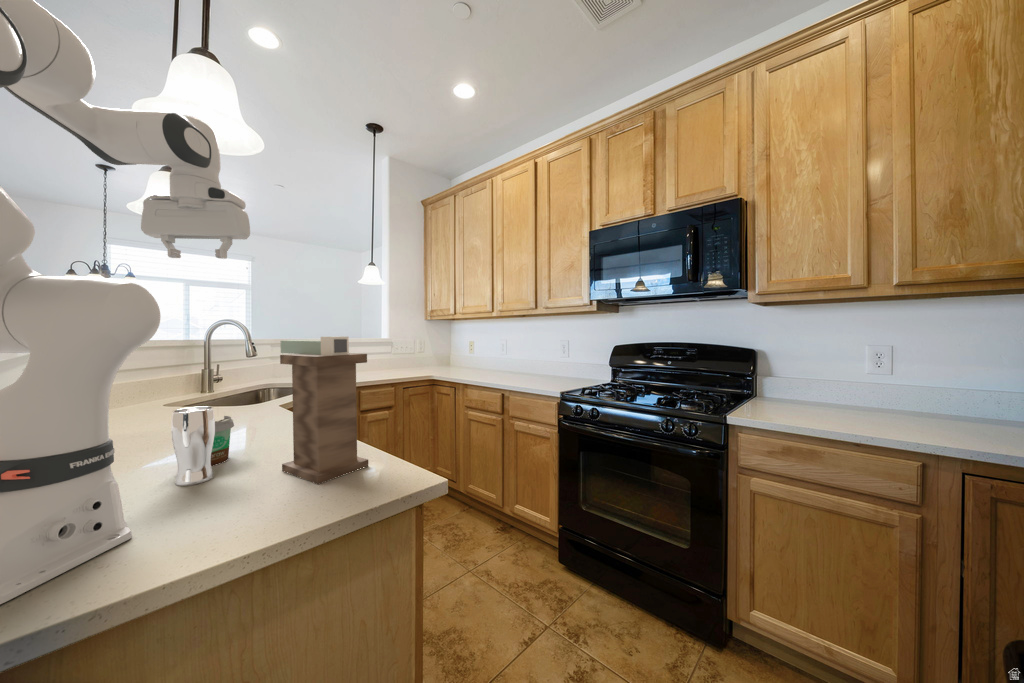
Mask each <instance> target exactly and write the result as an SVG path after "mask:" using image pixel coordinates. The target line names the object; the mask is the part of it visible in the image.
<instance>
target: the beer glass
mask: <svg viewBox="0 0 1024 683" xmlns="http://www.w3.org/2000/svg"><path fill="white" fill-rule="evenodd" d="M171 413H172V415H171V416H172V417H171V428H170V429H171V441H172V446H173V450H174V454H175V457H176V462H177V473H176V478H175V485H176V486H178V487H179V486H180V487H185V486H187V487H188V486H194V485H200V484H202V483H206V482H208V481H210V480H212V479H213V478H214V471H213V468H212V467H213V466H211V453H212V447H213V442H214V436H215V420H216V419H215V412H214V407H213V406H209V405H208V406H207V405H205V406H204V405H203V406H190V407H183V408H177V409H174V410H173V411H171Z"/></svg>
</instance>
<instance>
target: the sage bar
mask: <svg viewBox="0 0 1024 683" xmlns="http://www.w3.org/2000/svg"><path fill="white" fill-rule="evenodd" d="M349 343H350V342H349V336H320V340H280V354H315V355H331V356H332V355H349V353H350V352H349V351H350V348H349Z"/></svg>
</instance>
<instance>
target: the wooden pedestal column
mask: <svg viewBox="0 0 1024 683" xmlns="http://www.w3.org/2000/svg"><path fill="white" fill-rule="evenodd" d="M279 360H280V361H279V362H280V363H279V364H280V365H291V372H292V373H291V376H292V377H291V381H292V385H291V386H292V390H291V391H292V430H293V432H292V434H293V435H292V436H293V437H292V438H293V441H292V442H293V460H291V461H288V462H283V463H281V470H282V471H281V472H283V471H285V472H284V473H286V472H288V473H287V474H289V473H290V474H289V475H291V474H293V475H292V476H294V475H296V476H295V477H297V476H298V477H297V478H299V477H301V478H300V479H302V478H303V480H305V479H306V480H305V481H308V480H309V481H308V482H310V481H311V482H310V483H313V482H314V483H313V484H316V483H317V484H316V485H319V483H320V484H323V483H325V481H326V482H328V480H329V481H331V480H330V479H332V480H334V479H336V478H335V477H337V478H339V477H338V476H340V477H342V476H341V475H343V474H346V473H349V472H351V473H353V472H352V471H354V472H356V471H355V470H357V469H360V468H363V467H366V466H368V467H369V459H368V458H364V457H362V456H358V430H357V429H358V427H357V426H358V425H357V424H358V420H357V419H358V418H357V417H358V415H357V411H358V409H357V364H366V363H368V354H367V353H360V352H359V353H355V352H354V353H351V352H349V355H332V356H331V355H315V354H293V353H286V354H280V355H279ZM366 468H367V467H366ZM363 469H364V468H363ZM360 470H361V469H360ZM357 471H358V470H357ZM349 474H350V473H349ZM346 475H347V474H346ZM343 476H344V475H343ZM333 478H334V479H333ZM322 482H323V483H322Z"/></svg>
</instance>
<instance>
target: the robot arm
mask: <svg viewBox="0 0 1024 683" xmlns="http://www.w3.org/2000/svg"><path fill="white" fill-rule="evenodd" d="M95 78H96V70H95V64H94V61H93V58H92V56H91V53H90V51H89V49H88V48H87V46H86V45H85V44H84V43H83V41H82V40H81V39H80V37H79V36H77V35H76V34H75V33H74V32H73V31H72V30H71V29H70V28H69V27H68V26H67V25H66V24H65V23H63V22H62V21H61V20H60V19H59V18H57V17H56V16H55V15H53V14H52V13H51V12H50V11H48V10H47V9H46V8H45V7H43V6H42V5H40V4H39V3H38V2H37V1H35V0H0V89H1V88H4V90H6V91H7V92H8V93H9V94H11V95H13V97H15V98H16V99H18V100H19V101H21V102H22V103H23V104H25V105H26V106H28V107H29V108H31V109H32V110H34V111H36V112H37V113H38V114H40V115H42V116H43V117H45V118H46V119H48V120H49V121H51V122H52V123H54V124H55V125H57V126H59V127H60V128H62V129H63V130H65V131H66V132H68V133H70V134H71V135H72V136H74V137H75V138H76V139H78V140H79V141H80V142H82V144H84V146H86V148H88V150H89V151H91V152H92V153H93V154H95V155H96V156H97V157H99V158H100V159H101V160H103V161H105V162H106V163H108V164H111V165H115V166H131V165H133V166H134V165H148V166H149V165H151V166H152V165H154V166H168V167H170V168H171V169H170V170H171V171H170V173H169V194H163V195H159V194H151V195H150V196H148V197H147V198H145V199H143V202H142V205H143V207H142V212H141V213H142V214H141V218H140V219H141V220H140V221H141V222H140V231H142V233H143V234H144V235H146V236H149V237H151V238H154V239H160V241H161V243H162V244H163V245H164V247H165V248H166V250H167V257H168V258H171V259H181V257H182V256H181V254H182V250H179V249H177V248H176V247H175V245H174V244H176V239H183V240H185V239H188V240H189V239H190V240H191V239H194V240H219V241H220V242H221V245H220V246H219V248H218V249H217V248H215V250H214V253H215V258H217V259H223V260H224V259H227V258H228V251H229V249H231V247H232V246H233V240H248V238H249V237H250V236H251V225H250V224H251V223H250V219H249V215H248V213H247V211H245V209H246V205H247V204H246V202H245V200H243V199H242V198H240V196H238V195H236V194H235V193H233V192H231V191H230V190H227V189H224V188H222V185H221V182H220V179H219V178H220V177H219V176H220V172H221V155H220V154H221V153H220V147H219V143H218V142H219V141H218V138H217V135H216V132H215V130H214V129H213V128H212V127H211V126H210V125H209V124H208V123H206V122H205V121H204V120H201V119H199V118H198V117H194V116H191V115H187V114H178V113H174V112H171V111H170V112H169V111H164V110H163V111H162V110H161V111H158V110H139V109H120V108H109V107H102V106H101V107H100V106H96V105H92V104H89V103H87V102H86V101H85V100H83V99H84V98H85V97H86V96H88V94H89V93H90V92H91V91H92V90H91V89H92V88H93V86H94V83H95V81H96V79H95ZM35 233H36V232H35V226H34V223H33V222H32V220H31V219H30V218H29V217H28V216H27V214H26V213H25V212H24V211H23V210H22V209H21V207H20V206H19V205H18V204H17V203H16V202H15V201H14V199H13V198H12V197H11V196H10V195H9V194H8V192H7V191H6V190H5V189H4V188H3V186H1V185H0V354H22V353H23V354H26V353H27V354H29V357H28V361H27V364H26V366H25V369H24V370H23V371H22V373H21V375H20V376H19V377H18V378H17V379H16V380H15V381H14V382H13V383H12V384H9V385H6V386H5V387H2V388H1V389H0V605H2V604H4V603H6V602H8V601H11V600H13V599H14V598H16V597H18V596H20V595H22V594H24V593H25V592H28V591H29V590H32V589H34V588H36V587H38V586H40V585H42V584H44V583H46V582H48V581H50V580H51V579H52V580H53V578H55V577H57V576H59V575H61V574H64V573H65V572H67V571H70V570H72V569H73V568H76V567H77V566H79V565H81V564H83V563H85V562H87V561H89V560H91V559H93V558H95V557H96V556H99V555H101V554H103V553H105V552H106V551H109V550H111V549H113V548H114V547H116V546H119V545H120V544H122V543H125V542H126V541H128V540H131V538H132V537H133V533H132V530H131V528H129V527H128V525H127V522H126V520H125V516H124V511H123V503H122V498H121V493H120V488H119V484H118V482H117V480H116V479H115V477H114V476H115V475H113V471H112V468H111V465H112V464H113V463H114V462H115V447H114V441H113V439H111V438H110V435H109V434H110V431H109V430H110V429H109V428H110V426H109V423H110V422H109V421H110V420H109V419H110V397H111V396H110V395H111V390H112V387H113V383H114V381H115V379H116V376H117V375H118V372H119V370H120V369H121V367H122V365H123V364H124V362H125V361H126V360H127V359H128V358H129V356H131V354H132V353H133V352H135V351H136V350H138V349H139V348H140V347H142V346H144V345H145V344H147V342H149V341H150V340H151V339H152V338H153V337H154V336H155V334H156V333H157V331H158V328H159V327H160V324H161V310H160V309H161V308H160V306H159V304H158V302H157V301H156V299H155V297H154V296H153V295H152V293H151V292H149V290H147V289H146V288H144V287H143V286H142V285H139V284H137V283H133V282H129V281H128V282H127V281H124V280H118V279H114V278H107V277H102V276H101V277H100V276H90V275H89V276H86V275H83V276H81V275H79V276H77V275H74V276H73V275H44V274H42V273H39V272H37V271H36V270H34V269H33V268H31V267H30V266H29V265H28V263H27V262H26V259H25V258H24V257H23V254H24V253H25V252H26V251H27V250H28V249H29V247H30V246H31V244H32V243H33V241H34V237H35Z"/></svg>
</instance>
